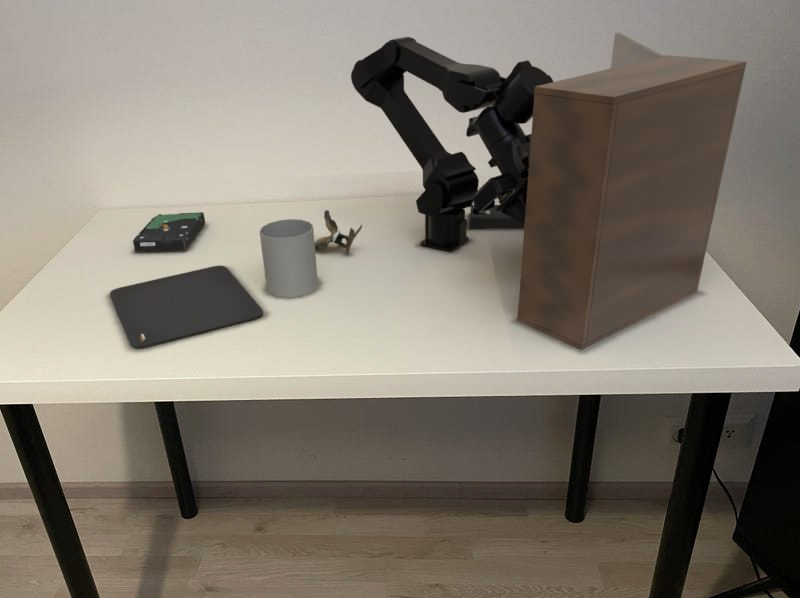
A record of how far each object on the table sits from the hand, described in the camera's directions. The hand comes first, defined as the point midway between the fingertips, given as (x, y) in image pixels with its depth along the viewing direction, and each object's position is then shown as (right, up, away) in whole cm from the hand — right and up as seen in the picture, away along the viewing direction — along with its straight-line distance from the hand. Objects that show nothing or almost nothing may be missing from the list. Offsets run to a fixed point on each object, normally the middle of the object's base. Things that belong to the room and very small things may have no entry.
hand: (557, 230), depth 105 cm
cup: (-40, -7, +11) cm, 42 cm away
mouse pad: (-57, -10, +9) cm, 59 cm away
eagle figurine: (-33, +1, +24) cm, 41 cm away
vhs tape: (+1, +7, +29) cm, 30 cm away
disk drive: (-64, +5, +35) cm, 74 cm away
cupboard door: (+18, +2, +18) cm, 25 cm away
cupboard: (+6, -12, -3) cm, 14 cm away
